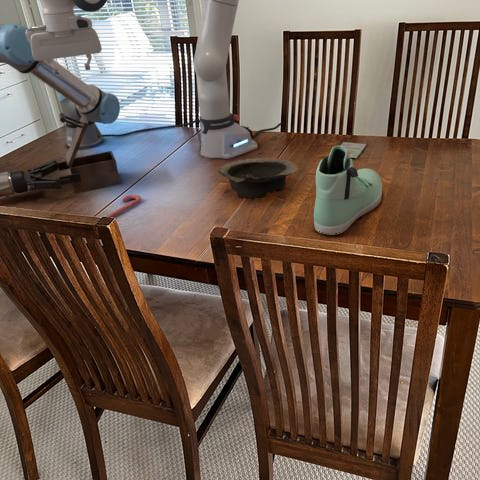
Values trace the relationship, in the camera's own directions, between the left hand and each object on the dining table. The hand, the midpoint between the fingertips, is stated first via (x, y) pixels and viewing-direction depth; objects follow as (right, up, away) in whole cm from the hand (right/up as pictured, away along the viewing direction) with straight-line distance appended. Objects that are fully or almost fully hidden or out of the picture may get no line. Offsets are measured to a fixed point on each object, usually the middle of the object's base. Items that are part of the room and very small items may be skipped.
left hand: (78, 169), depth 163 cm
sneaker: (+86, -15, -24) cm, 91 cm away
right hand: (+3, +28, -15) cm, 32 cm away
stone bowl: (+61, -7, -8) cm, 62 cm away
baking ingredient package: (+95, +9, +14) cm, 97 cm away
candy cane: (+19, -14, -14) cm, 27 cm away
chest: (+5, -4, +4) cm, 8 cm away
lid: (+1, +9, -4) cm, 10 cm away
